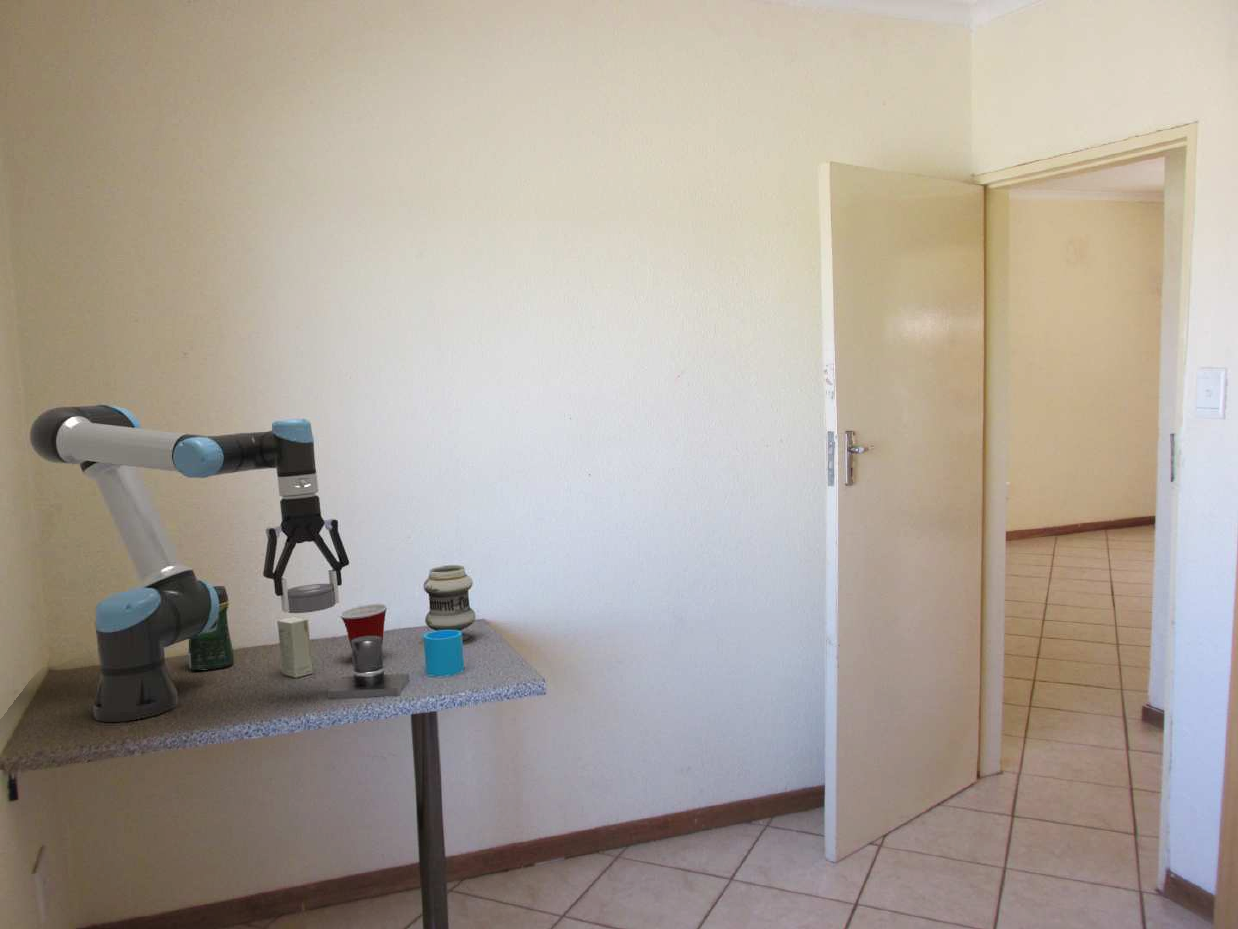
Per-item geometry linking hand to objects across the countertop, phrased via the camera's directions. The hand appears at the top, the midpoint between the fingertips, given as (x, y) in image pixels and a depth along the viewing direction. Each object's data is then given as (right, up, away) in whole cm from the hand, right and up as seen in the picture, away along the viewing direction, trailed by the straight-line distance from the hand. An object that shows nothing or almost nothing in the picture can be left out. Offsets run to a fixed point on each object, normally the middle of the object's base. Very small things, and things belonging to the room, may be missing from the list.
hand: (311, 606), depth 197 cm
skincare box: (-9, -18, +19) cm, 27 cm away
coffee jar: (-32, -18, +28) cm, 46 cm away
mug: (+24, -16, +17) cm, 34 cm away
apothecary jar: (+21, -15, +41) cm, 49 cm away
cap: (0, 0, 0) cm, 0 cm away
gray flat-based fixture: (+11, -18, +4) cm, 21 cm away
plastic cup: (+4, -16, +27) cm, 32 cm away
